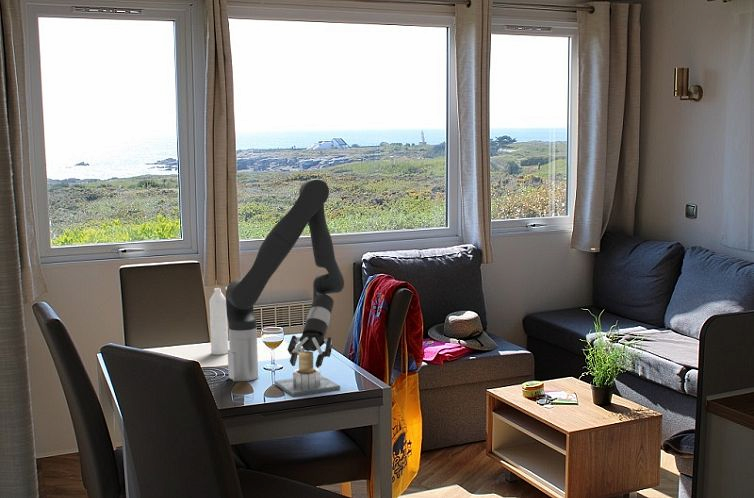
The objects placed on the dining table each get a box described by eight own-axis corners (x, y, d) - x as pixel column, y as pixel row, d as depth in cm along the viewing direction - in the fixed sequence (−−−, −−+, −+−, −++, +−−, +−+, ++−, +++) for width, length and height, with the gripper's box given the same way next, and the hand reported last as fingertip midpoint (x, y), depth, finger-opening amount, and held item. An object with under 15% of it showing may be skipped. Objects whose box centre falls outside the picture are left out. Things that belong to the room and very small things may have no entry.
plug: (302, 385, 277) (301, 355, 276) (297, 382, 281) (296, 352, 280) (315, 383, 279) (315, 353, 278) (310, 380, 283) (309, 350, 282)
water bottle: (212, 355, 326) (209, 289, 323) (210, 351, 332) (208, 287, 329) (235, 353, 328) (233, 288, 325) (233, 350, 334) (231, 285, 332)
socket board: (293, 396, 270) (292, 380, 269) (274, 384, 284) (274, 369, 283) (339, 389, 277) (339, 373, 276) (319, 378, 291) (319, 362, 291)
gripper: (293, 316, 287) (280, 358, 278) (334, 318, 283) (322, 360, 273) (300, 328, 293) (287, 370, 283) (340, 330, 288) (328, 373, 279)
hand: (304, 365), depth 278 cm, fingers open, 8 cm apart
